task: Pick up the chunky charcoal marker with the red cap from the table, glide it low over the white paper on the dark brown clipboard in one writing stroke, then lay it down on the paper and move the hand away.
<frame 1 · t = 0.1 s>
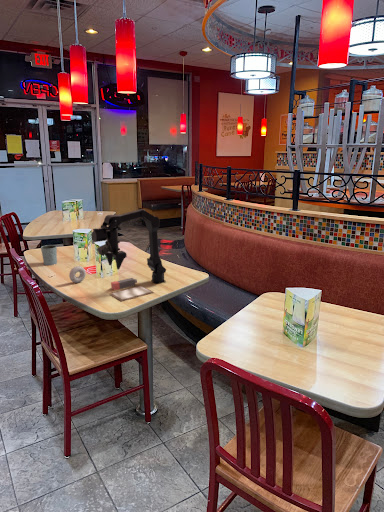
hand: (114, 267, 205), 14 cm above the table, tool pointing down, fingers open, 9 cm apart
donut: (78, 282, 225), on the table
gray cup: (50, 263, 261), on the table
marker: (124, 286, 218), on the table
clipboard: (131, 293, 208), on the table
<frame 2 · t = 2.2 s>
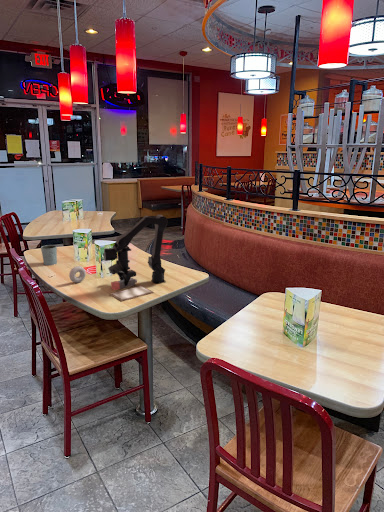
hand: (124, 284, 218), 1 cm above the table, tool pointing down, fingers closed on marker, 4 cm apart
marker: (124, 286, 218), on the table, touching gripper
everything else where it was.
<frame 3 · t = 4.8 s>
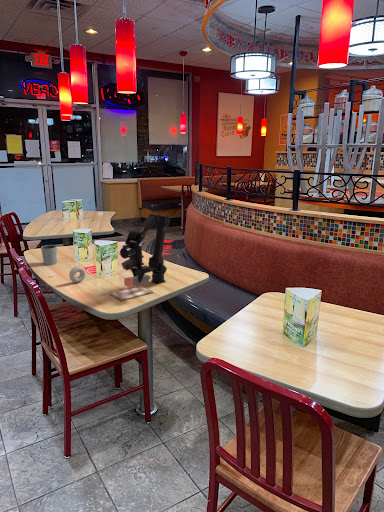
hand: (137, 281, 208), 6 cm above the table, tool pointing down, fingers closed on marker, 4 cm apart
marker: (137, 283, 209), point 5 cm above the table, touching gripper
everything else where it was.
when the fingers open (2 cm above the table, at t = 7.3 s): marker stays where it is, resting on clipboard.
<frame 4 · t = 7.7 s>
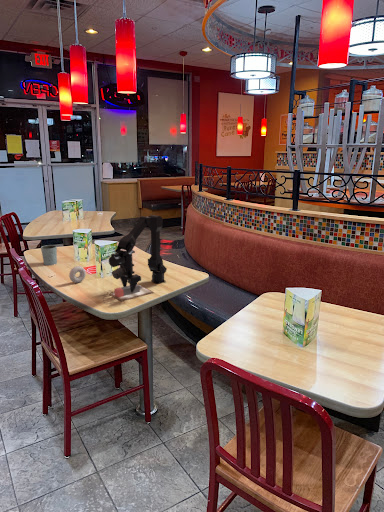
hand: (128, 290, 206), 2 cm above the table, tool pointing down, fingers open, 8 cm apart
marker: (128, 293, 206), point 1 cm above the table, touching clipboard
everything else where it was.
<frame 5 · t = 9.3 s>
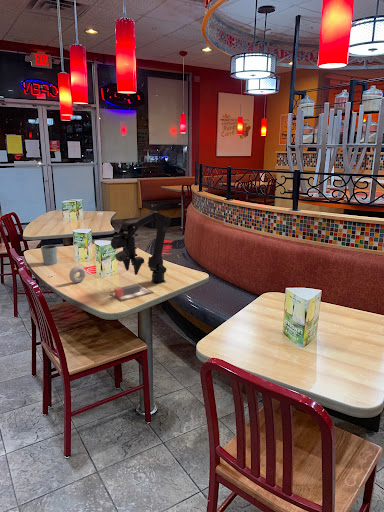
hand: (131, 272, 209), 10 cm above the table, tool pointing down, fingers open, 9 cm apart
nothing on the table moved.
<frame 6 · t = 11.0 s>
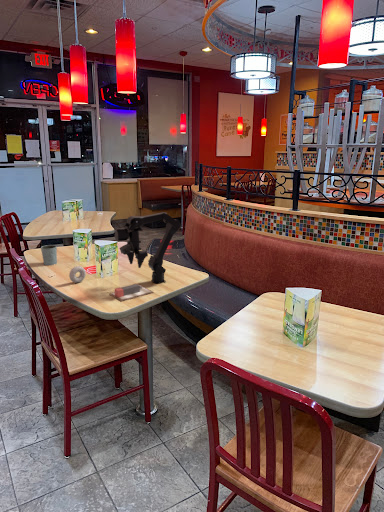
hand: (135, 265, 216), 12 cm above the table, tool pointing down, fingers open, 9 cm apart
nothing on the table moved.
at the end: marker inside the target area (0.0 cm from its centre), point 0.6 cm above the table; the gripper is holding nothing; marker tilted 0° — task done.
